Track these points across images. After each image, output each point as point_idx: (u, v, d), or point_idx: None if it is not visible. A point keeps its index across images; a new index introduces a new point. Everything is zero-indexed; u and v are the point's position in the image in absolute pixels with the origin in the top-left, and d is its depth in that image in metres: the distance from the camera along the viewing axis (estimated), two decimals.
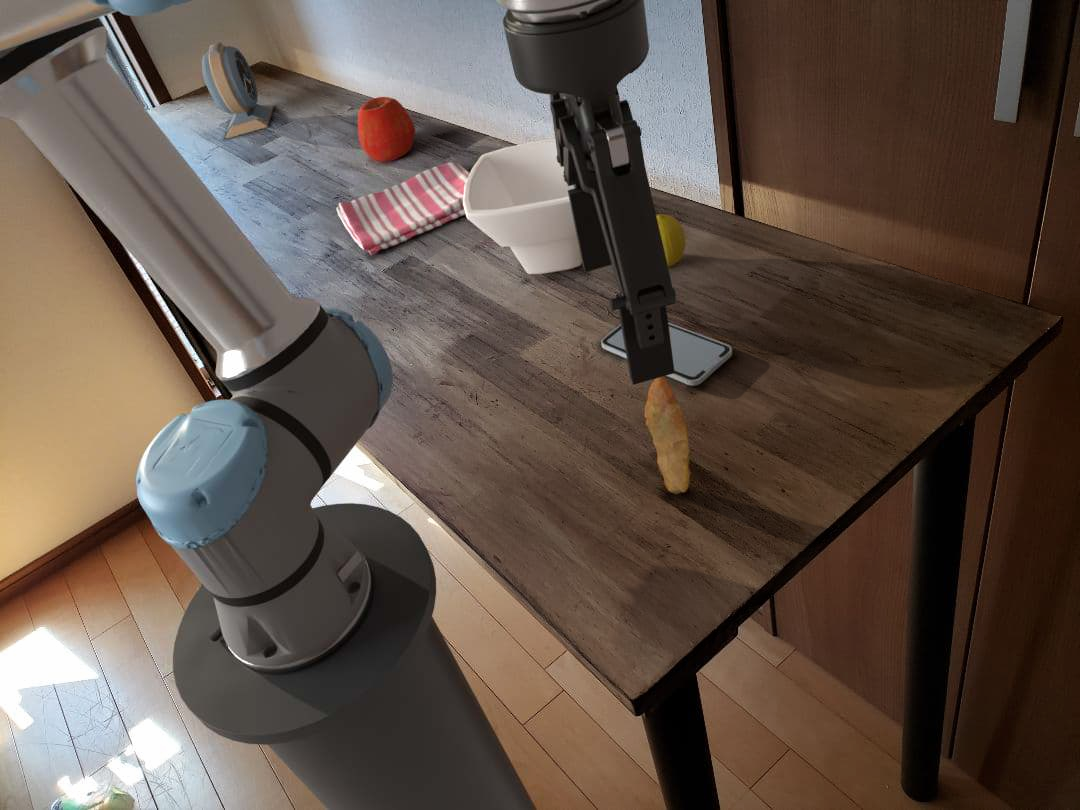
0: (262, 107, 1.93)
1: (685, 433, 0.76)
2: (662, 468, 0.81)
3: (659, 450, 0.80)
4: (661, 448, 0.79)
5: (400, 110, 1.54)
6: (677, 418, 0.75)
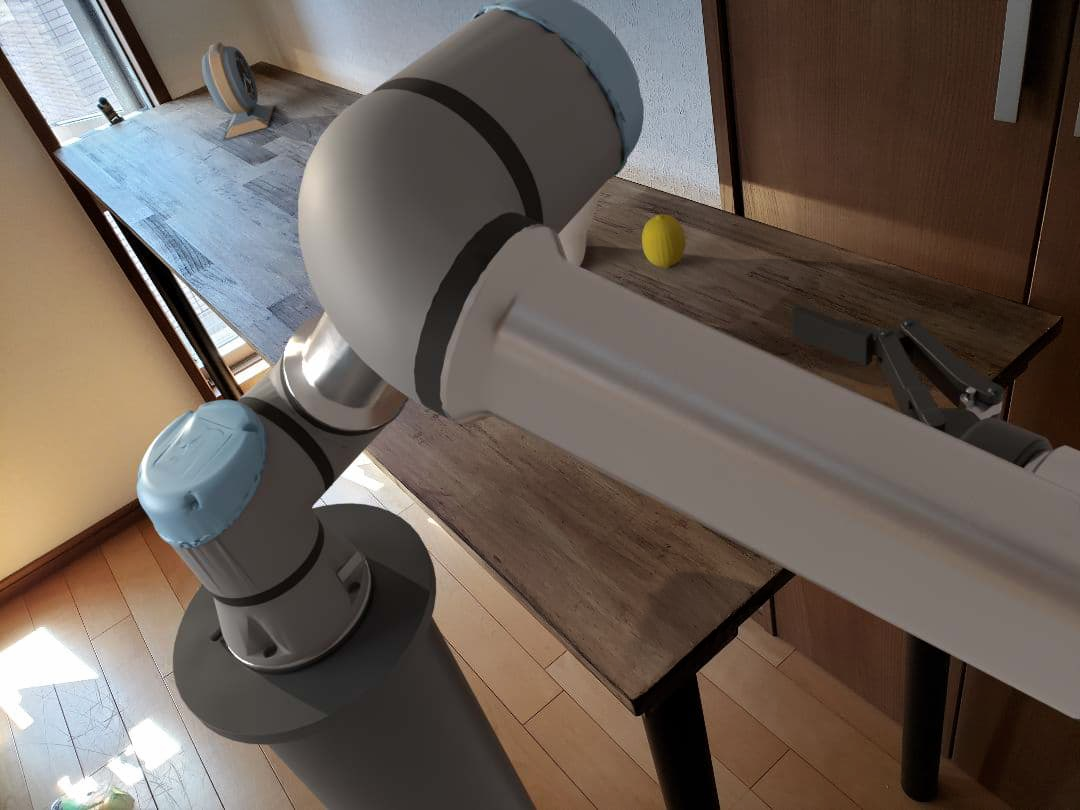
0: (262, 107, 1.93)
1: None
2: None
3: None
4: None
5: None
6: None
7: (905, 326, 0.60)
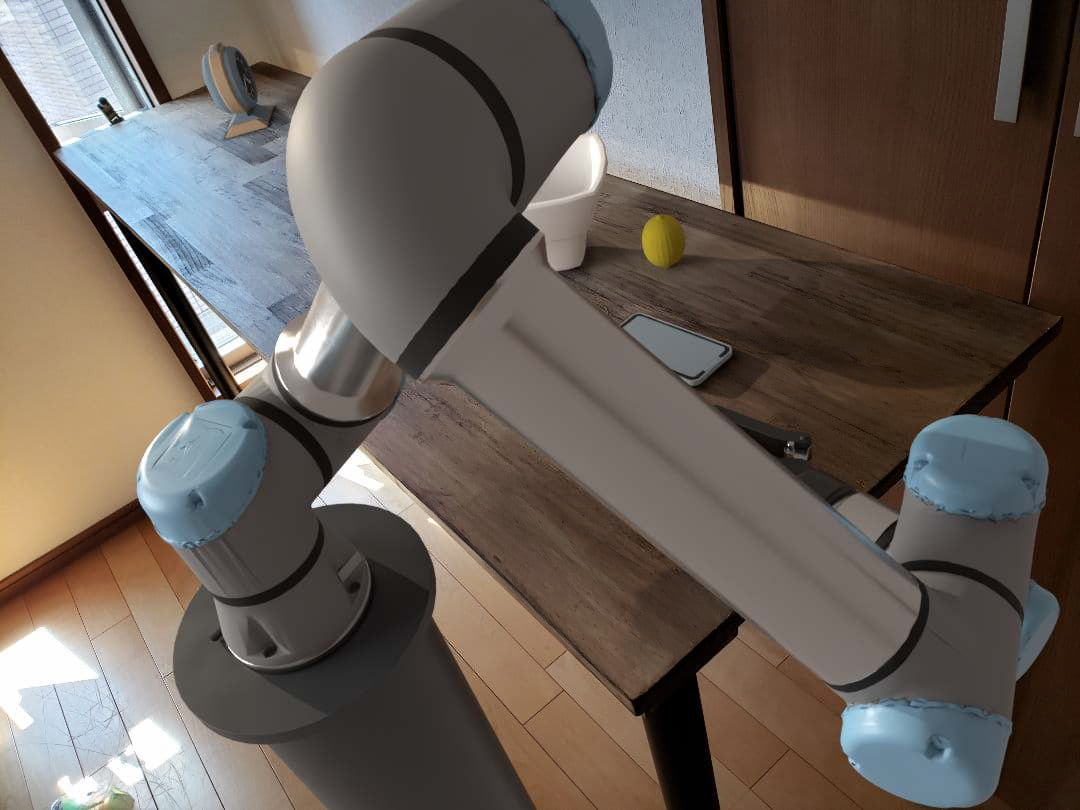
0: (262, 107, 1.93)
1: None
2: None
3: None
4: None
5: None
6: None
7: None
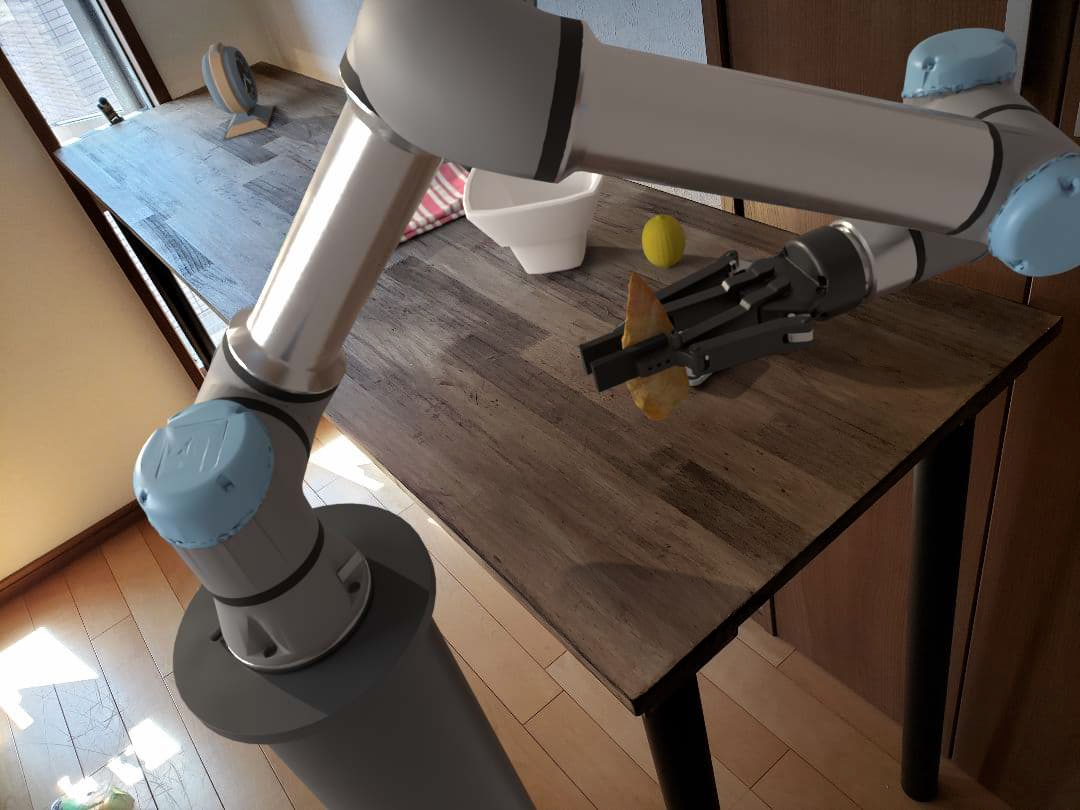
0: (262, 107, 1.93)
1: (671, 325, 0.69)
2: (653, 396, 0.71)
3: None
4: None
5: None
6: (662, 313, 0.67)
7: None
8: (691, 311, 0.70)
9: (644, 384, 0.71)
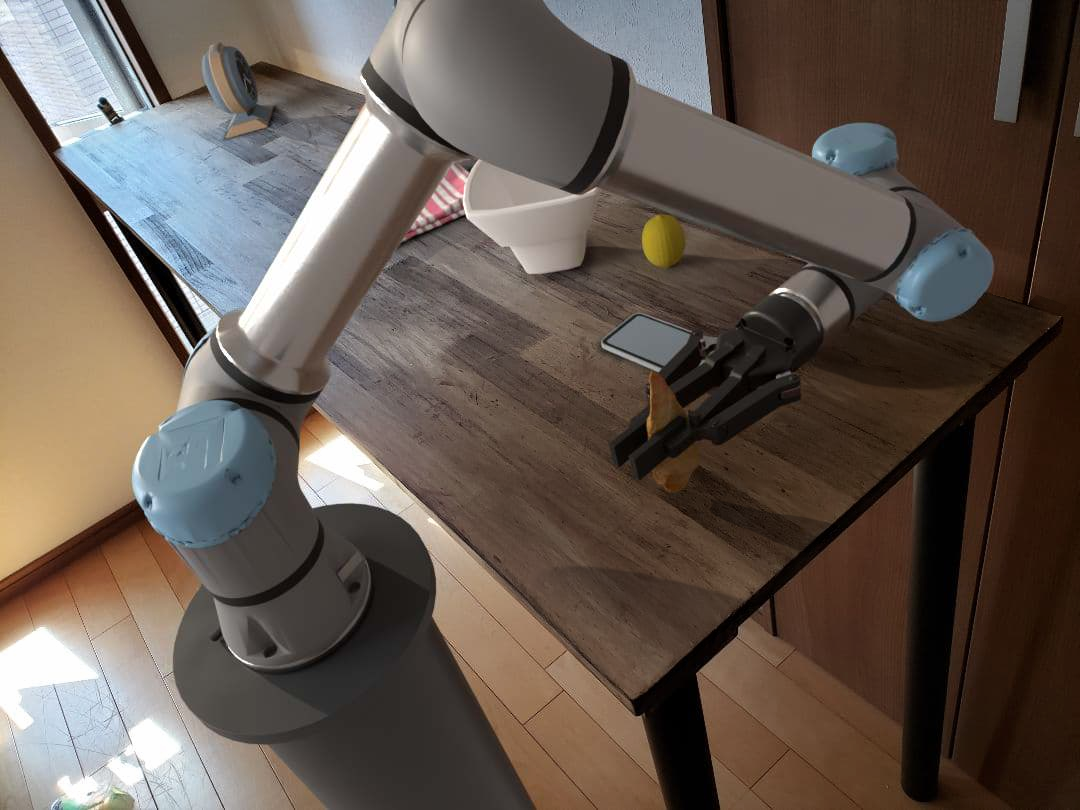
0: (262, 107, 1.93)
1: (680, 407, 0.77)
2: (674, 471, 0.79)
3: None
4: None
5: None
6: (674, 398, 0.76)
7: None
8: (688, 390, 0.79)
9: (666, 463, 0.78)
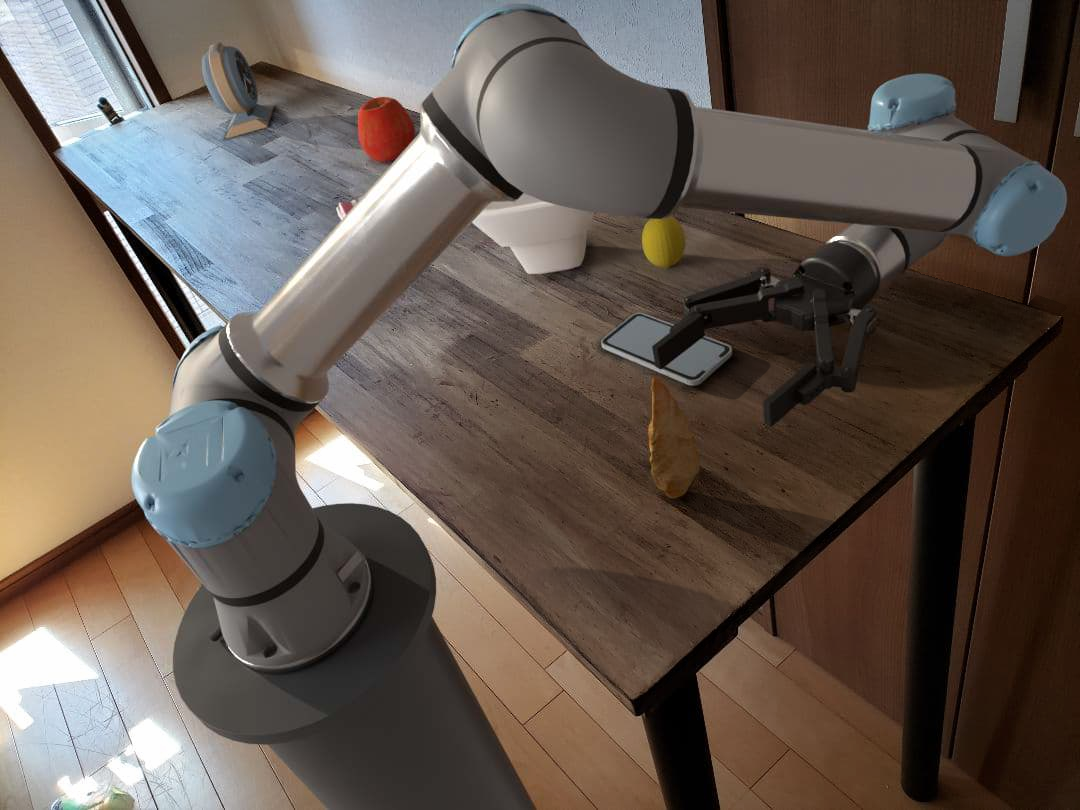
0: (262, 107, 1.93)
1: (682, 413, 0.78)
2: (675, 477, 0.80)
3: (668, 462, 0.78)
4: (671, 456, 0.78)
5: (400, 110, 1.54)
6: (675, 405, 0.76)
7: (692, 300, 0.87)
8: (727, 312, 0.85)
9: (667, 469, 0.79)
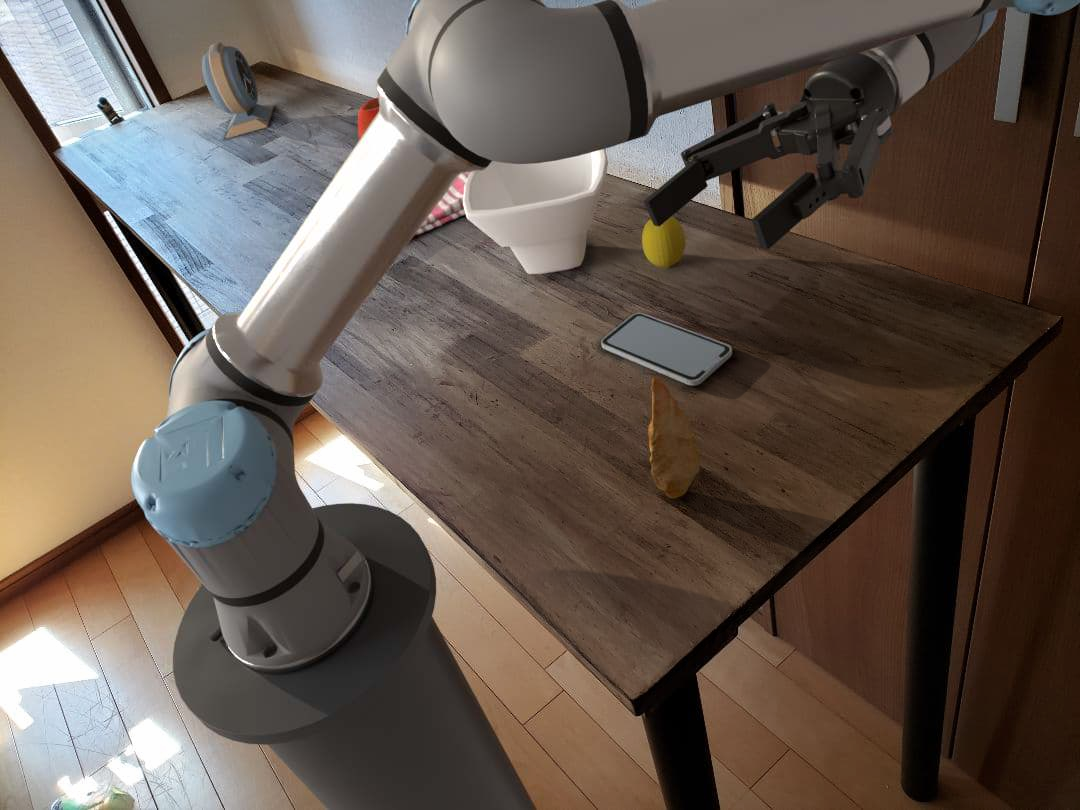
0: (262, 107, 1.93)
1: (682, 413, 0.78)
2: (675, 477, 0.80)
3: (668, 462, 0.78)
4: (671, 456, 0.78)
5: None
6: (675, 405, 0.76)
7: (690, 152, 0.80)
8: (727, 154, 0.77)
9: (667, 469, 0.79)
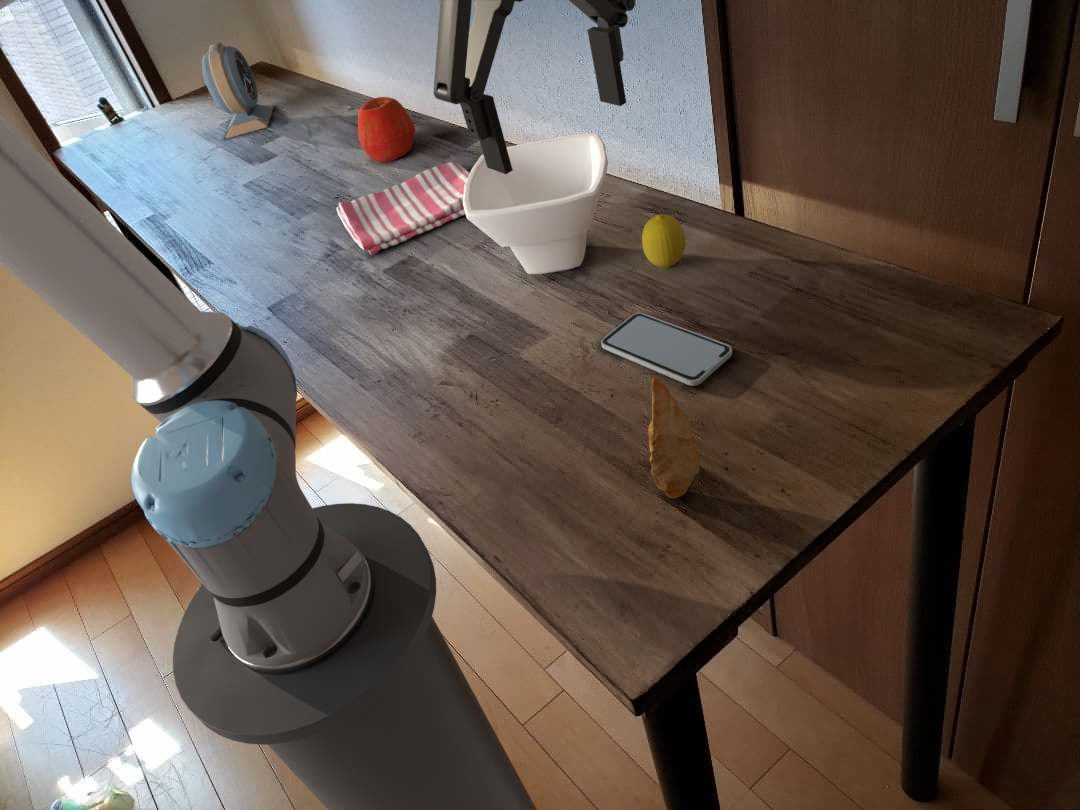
0: (262, 107, 1.93)
1: (682, 413, 0.78)
2: (675, 477, 0.80)
3: (668, 462, 0.78)
4: (671, 456, 0.78)
5: (400, 110, 1.54)
6: (675, 405, 0.76)
7: None
8: (579, 5, 0.71)
9: (667, 469, 0.79)
